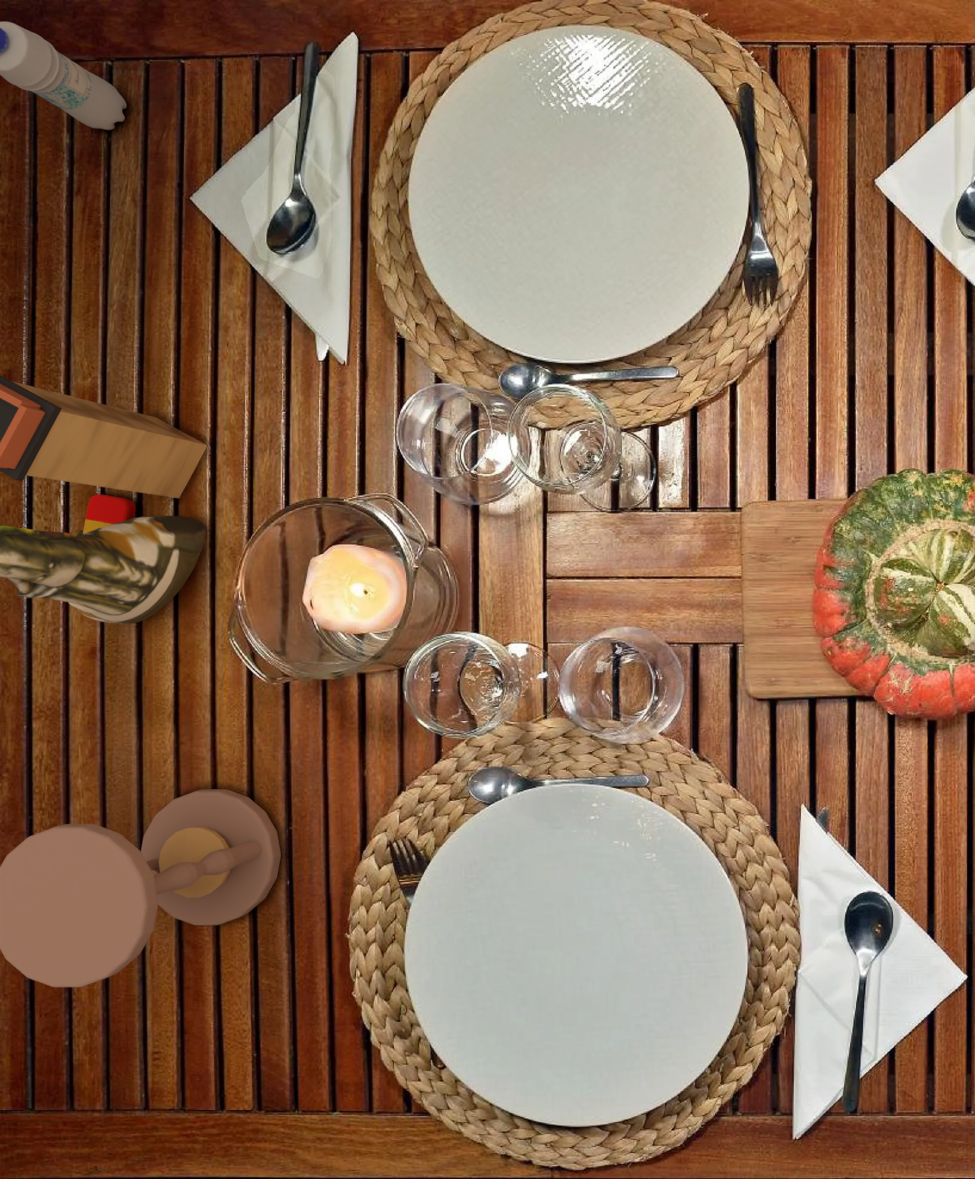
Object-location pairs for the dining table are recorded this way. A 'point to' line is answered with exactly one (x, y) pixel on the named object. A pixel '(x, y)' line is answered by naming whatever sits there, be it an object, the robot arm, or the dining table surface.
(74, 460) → the stand
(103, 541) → the statue
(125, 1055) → the dining table surface
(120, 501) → the popsicle
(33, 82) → the bottle
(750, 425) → the dining table surface
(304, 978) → the dining table surface
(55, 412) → the base pad
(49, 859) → the hourglass
